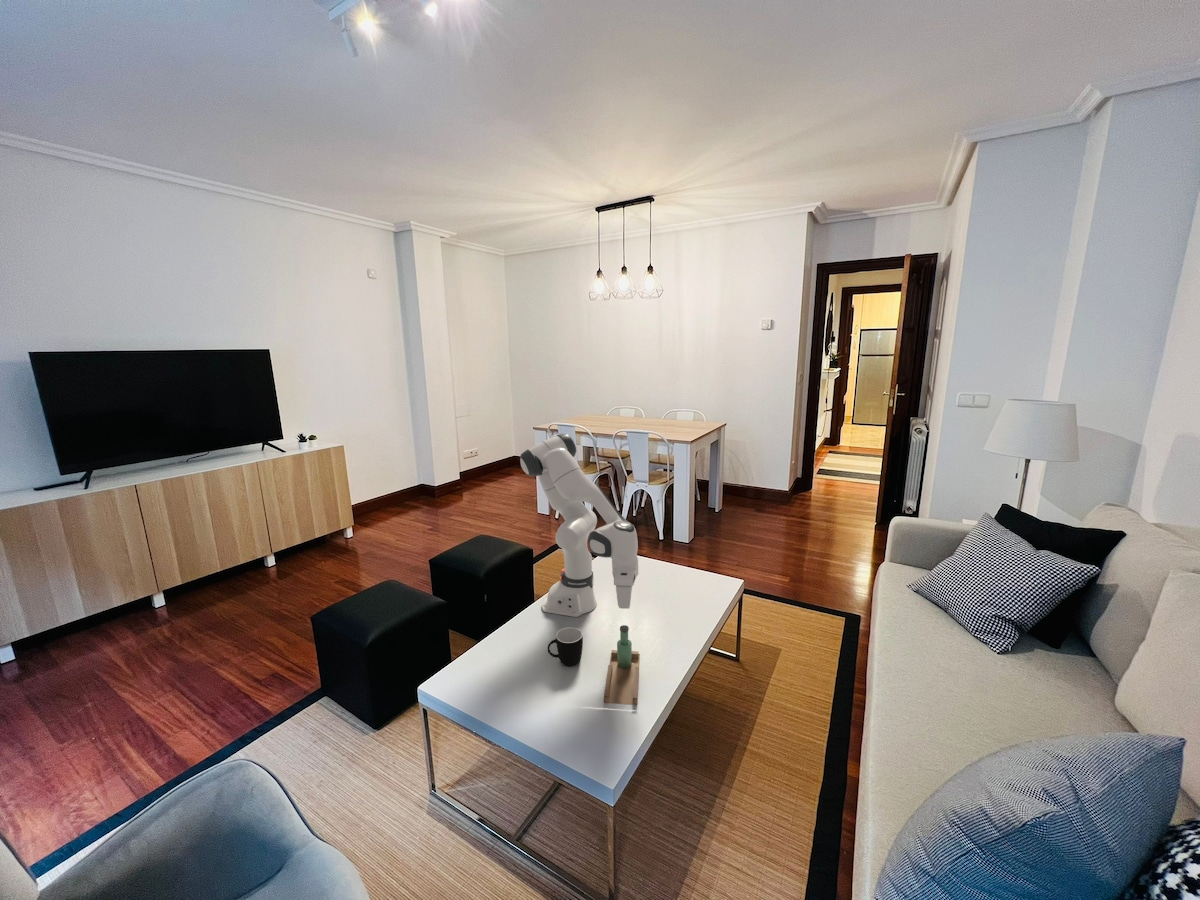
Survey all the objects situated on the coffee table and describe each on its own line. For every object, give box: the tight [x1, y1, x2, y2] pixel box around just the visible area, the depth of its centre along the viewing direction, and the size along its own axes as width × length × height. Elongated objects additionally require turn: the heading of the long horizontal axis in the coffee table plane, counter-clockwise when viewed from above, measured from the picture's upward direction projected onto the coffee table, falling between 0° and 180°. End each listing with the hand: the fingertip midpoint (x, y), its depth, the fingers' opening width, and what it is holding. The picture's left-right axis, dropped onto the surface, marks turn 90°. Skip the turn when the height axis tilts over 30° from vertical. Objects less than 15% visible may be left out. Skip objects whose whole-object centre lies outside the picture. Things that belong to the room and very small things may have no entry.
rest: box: [603, 649, 641, 706], centre depth 155 cm, size 10×24×3 cm, turn 173°
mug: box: [547, 626, 584, 668], centre depth 162 cm, size 12×9×10 cm
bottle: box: [616, 624, 633, 669], centre depth 159 cm, size 5×5×14 cm
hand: (626, 606), depth 165 cm, fingers closed
